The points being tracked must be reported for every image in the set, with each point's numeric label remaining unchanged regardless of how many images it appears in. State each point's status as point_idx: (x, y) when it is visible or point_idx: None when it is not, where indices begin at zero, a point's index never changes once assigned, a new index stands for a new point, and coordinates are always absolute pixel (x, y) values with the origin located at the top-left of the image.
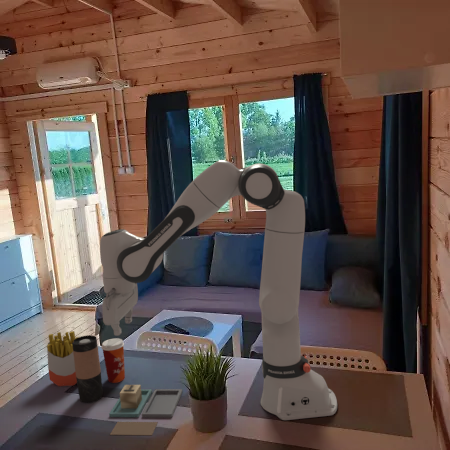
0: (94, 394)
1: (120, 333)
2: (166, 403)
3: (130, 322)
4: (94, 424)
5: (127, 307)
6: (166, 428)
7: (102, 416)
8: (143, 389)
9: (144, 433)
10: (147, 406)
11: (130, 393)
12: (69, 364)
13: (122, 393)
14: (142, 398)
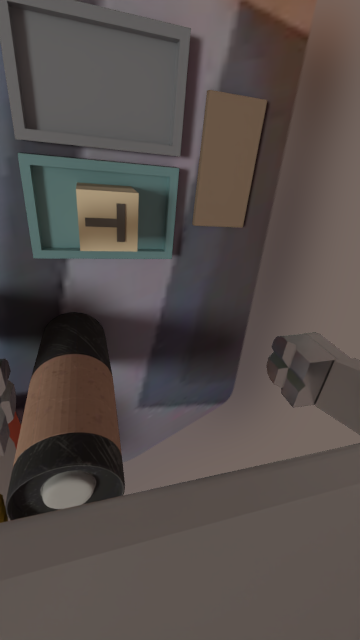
0: (97, 331)
1: (305, 335)
2: (96, 70)
3: (4, 360)
4: (189, 281)
5: (283, 629)
6: (232, 52)
7: (158, 276)
8: (25, 189)
9: (255, 127)
10: (138, 145)
11: (137, 212)
12: (1, 462)
13: (137, 241)
14: (69, 182)
